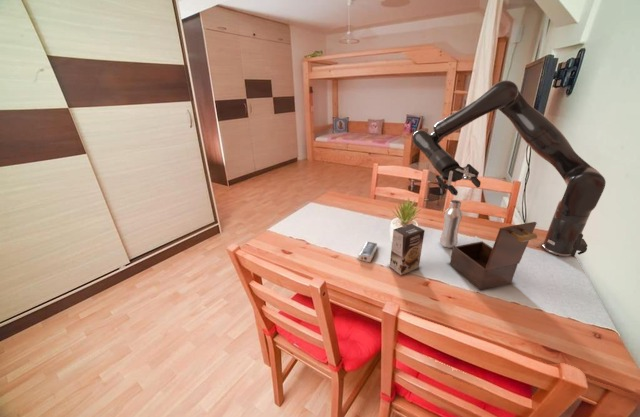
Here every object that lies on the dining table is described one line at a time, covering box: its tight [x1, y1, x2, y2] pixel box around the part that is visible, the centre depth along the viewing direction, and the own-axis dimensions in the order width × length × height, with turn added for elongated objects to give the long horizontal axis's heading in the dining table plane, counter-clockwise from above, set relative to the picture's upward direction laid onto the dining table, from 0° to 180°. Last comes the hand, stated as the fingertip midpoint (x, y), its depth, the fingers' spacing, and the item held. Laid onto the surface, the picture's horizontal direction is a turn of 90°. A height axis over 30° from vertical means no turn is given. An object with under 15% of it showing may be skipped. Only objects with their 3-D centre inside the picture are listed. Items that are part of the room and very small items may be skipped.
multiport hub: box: [358, 241, 378, 263], centre depth 106 cm, size 4×11×2 cm, turn 155°
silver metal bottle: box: [439, 199, 464, 249], centre depth 106 cm, size 6×7×20 cm
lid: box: [485, 221, 538, 270], centre depth 78 cm, size 15×13×5 cm
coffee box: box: [389, 223, 426, 276], centre depth 95 cm, size 9×6×16 cm
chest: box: [449, 241, 518, 291], centre depth 92 cm, size 15×13×8 cm
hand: (467, 189), depth 95 cm, fingers open, 8 cm apart
